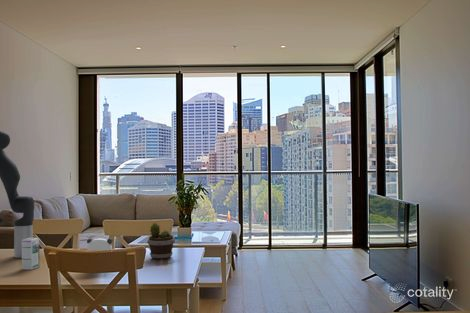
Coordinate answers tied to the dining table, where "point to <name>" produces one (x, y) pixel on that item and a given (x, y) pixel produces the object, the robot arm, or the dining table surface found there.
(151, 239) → the flowerpot
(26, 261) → the syrup box
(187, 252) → the dining table surface
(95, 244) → the panda figurine
